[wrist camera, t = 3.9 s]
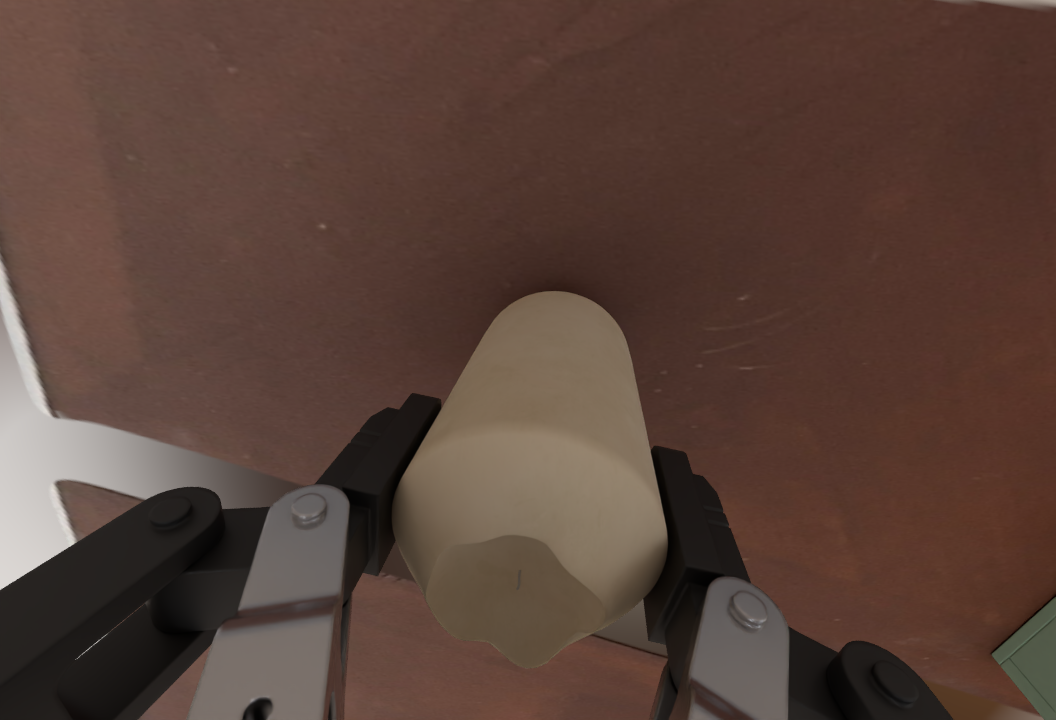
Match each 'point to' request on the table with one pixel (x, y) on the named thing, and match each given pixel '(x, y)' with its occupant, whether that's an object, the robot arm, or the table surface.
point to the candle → (535, 486)
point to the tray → (1034, 660)
